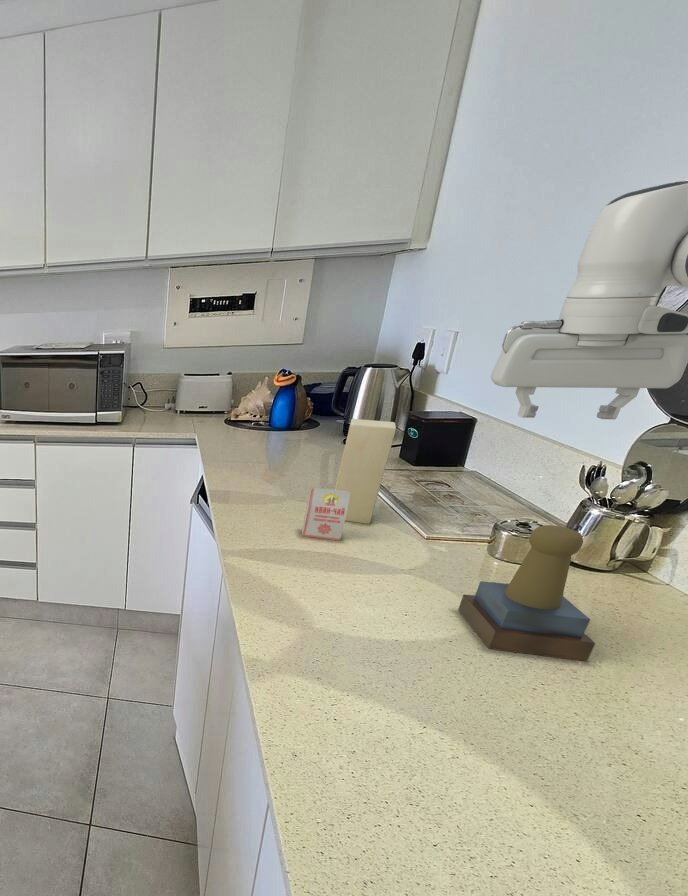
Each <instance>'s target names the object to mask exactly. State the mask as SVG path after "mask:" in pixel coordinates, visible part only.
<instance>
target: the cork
mask: <svg viewBox="0 0 688 896" xmlns="http://www.w3.org/2000/svg"><path fill="white" fill-rule="evenodd" d="M528 539H529V540H528V542H529V544H530V549H529V550H528V552H527V554H526V555H525V557H524V558H523V560H522V562H521V564H520V565H519V567H518V568H517V570H516V572H515V574H514V575H513V577H512V578H511V580H510V582H509V583H508V584H509V585H508V587H507V588H506V590H505V592H504V594H505V596H507V597H508V598H509V599H511V600H513V601H514V602H517V603H519V604H522V605H525V606H529V607H533V608H538V609H548V610H550V609H557V608H560V606H561V602H562V598H563V596H564V592H565V587H566V583H567V578H568V575H569V571H570V565H571V560H572V556H573V555H575V554H577V553H578V552H579V551H580V550H581V548H582V546H583V545H584V538H583V535H582V534H581V533H580V532H578V531H576V530H575V529H573V528H570V527H567V526H560V525H552V524H548V525H546V524H544V525H539V526H538V527H536V528H534V529H533V530H532V532H531V533H530V535H529V538H528Z"/></svg>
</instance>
